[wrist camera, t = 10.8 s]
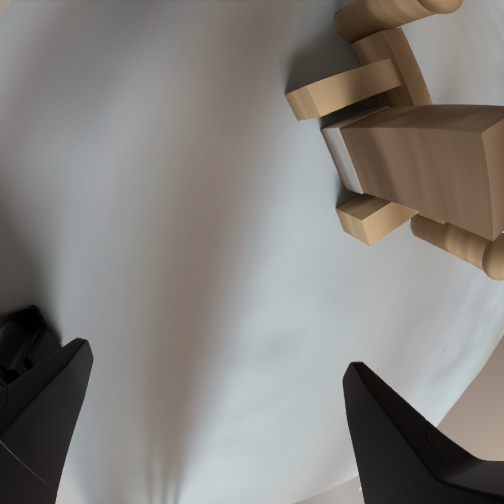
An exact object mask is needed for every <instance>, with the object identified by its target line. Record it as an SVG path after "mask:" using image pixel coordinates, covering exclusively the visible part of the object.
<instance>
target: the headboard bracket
mask: <svg viewBox="0 0 504 504" xmlns="http://www.w3.org/2000/svg"><path fill="white" fill-rule="evenodd" d="M462 1H463V0H356V1H354V2H353V3H351V4H350V5H348V6H347V7H345V8H344V9H342V10H341V11H339V12H338V13H337V14H336V15H335V18H334V22H335V26H336V28H337V30H338V31H339V33H340V34H341V35H342V36H343V37H345V38H346V39H348V40H350V41H352V42H354V43H352V44H351V46H352V48H353V50H354V52H355V54H356V56H357V58H358V60H359V62H360V64H361V67H358V68H355V69H352V70H349V71H346V72H343V73H340V74H337V75H334V76H331V77H328V78H325V79H323V80H320V81H317V82H314V83H312V84H309V85H307V86H304V87H302V88H299V89H297V90H295V91H292V92H290V93H288V94H286V95H285V96H286V98H287V100H288V102H289V104H290V106H291V108H292V110H293V112H294V114H295V116H296V118H297V120H298V121H300V120H305V119H311V118H318V117H322V116H324V115H327V114H329V113H331V112H333V111H336V110H338V109H341V108H343V107H345V106H348V105H350V104H353V103H355V102H358V101H360V100H363V99H365V98H368V97H370V96H373V95H375V98H376V100H377V103H378V105H379V107H381V106H389V107H401V106H417V105H433V104H432V101H431V98H430V95H429V92H428V90H427V87H426V84H425V81H424V79H423V76H422V74H421V71H420V69H419V66H418V64H417V62H416V59H415V57H414V55H413V52H412V50H411V48H410V46H409V44H408V41H407V39H406V37H405V35H404V33H403V31H402V29H401V28H396V27H398V26H401V25H404V24H407V23H409V22H412V21H415V20H418V19H421V18H424V17H427V16H431V15H434V14H449V13H452V12H454V11H456V10H457V9H458V8H459V7H460V6H461V4H462ZM393 28H394V29H393ZM336 211H337V214H338V216H339V219H340V221H341V224H342V227H343V229H344V231H345V232H346V233H348V234H350V235H352V236H353V237H355V238H357V239H359V240H360V241H362V242H364V243H365V244H367V245H369V246H370V245H372V244H373V243H375V242H376V241H378V240H379V239H381V238H382V237H384V236H385V235H387V234H388V233H390V232H391V231H393V230H394V229H396V228H397V227H399V226H400V225H401V224H403V223H404V222H406V221H407V220H409V219H410V218H412V220H411V229H412V232H413V234H414V235H415V236H417V237H419V238H421V239H423V240H425V241H427V242H429V243H431V244H433V245H435V246H437V247H439V248H441V249H443V250H445V251H447V252H449V253H451V254H453V255H455V256H457V257H459V258H461V259H463V260H465V261H466V262H468V263H470V264H472V265H474V266H476V267H478V268H479V269H481V270H483V271H484V272H485V273H486V274H487V275H488V276H489V277H490V278H492V279H494V280H504V233H501V234H500V235H499V236H498V237H497V238H496V239H495V240H494V241H490V240H488V239H486V238H484V237H481V236H479V235H477V234H475V233H472V232H470V231H467V230H465V229H463V228H460V227H458V226H455V225H453V224H451V223H448V222H446V221H443V220H440V219H438V218H435V217H433V216H430V215H427V214H425V213H422V212H419V211H417V210H414V209H411V208H408V207H406V206H403V205H400V204H397V203H394V202H391V201H388V200H385V199H382V198H379V197H376V196H373V195H370V194H367V193H363V194H360V195H358V196H357V197H355V198H353V199H351V200H350V201H348V202H346V203H345V204H343V205H341V206H339V207H338V208H336Z"/></svg>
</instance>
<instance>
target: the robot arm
mask: <svg viewBox="0 0 504 504" xmlns="http://www.w3.org/2000/svg"><path fill="white" fill-rule="evenodd" d="M31 310H32V311H33V312H34V313H33V312H32V311H31ZM92 364H93V354H92V351H91V348H90V345H89V342H88V340H86V339H82V338H76V339H74V340H73V341H71V342H70V343H68V344H67V345H65V346H64V347H62V348H60V347H59V345H58V343H57V342H56V340H55V339H54V337H53V335H52V333H51V332H50V330H49V328H48V327H47V325H46V323H45V321H44V319H43V318H42V316H41V314H40V312H39V310H38V309H37V307H36V306H34V305H29V306H26V307H23V308H20V309H16V310H13V311H10V312H7V313H4V314H1V315H0V504H55V502H56V497H57V491H58V487H59V483H60V479H61V475H62V471H63V467H64V463H65V459H66V456H67V452H68V448H69V445H70V442H71V438H72V435H73V432H74V428H75V425H76V422H77V419H78V416H79V413H80V410H81V407H82V404H83V401H84V397H85V393H86V389H87V385H88V381H89V376H90V372H91V368H92ZM343 390H344V398H345V407H346V416H347V422H348V426H349V431H350V435H351V439H352V444H353V448H354V453H355V458H356V462H357V467H358V472H359V476H360V482H361V487H362V492H363V497H364V502H365V504H504V461H486V460H481V459H479V458H477V457H475V456H473V455H471V454H470V453H469V452H467V451H466V450H464V449H463V448H462V447H460V446H459V445H457V444H456V443H454V442H453V441H452V440H450V439H449V438H448V437H446V436H445V435H444V434H443V433H441V432H440V431H439V430H438V429H437V428H436V427H434V426H433V425H432V424H431V423H430V422H429V421H426V419H425V418H424V417H423V416H422V415H421V414H420V413H419V412H418V411H416V410H415V409H414V408H413V407H412V406H411V405H410V404H409V403H407V402H406V401H405V400H404V399H403V398H402V397H401V396H400V395H399V394H397V393H396V392H395V391H394V390H393V389H392V388H391V387H390V386H389V385H387V384H386V383H385V382H384V381H383V380H382V379H381V378H380V377H379V376H378V375H376V374H375V373H374V372H373V371H372V370H371V369H370V368H369V367H368V366H366V365H365V364H364V363H363V362H351V363H350V364H349V366H348V368H347V370H346V372H345V374H344V377H343Z"/></svg>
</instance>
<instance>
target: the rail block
mask: <svg viewBox="0 0 504 504" xmlns="http://www.w3.org/2000/svg"><path fill="white" fill-rule="evenodd" d="M320 131H321V133H322V135H323V137H324V140H325V142H326V144H327V147H328V149H329V152H330V154H331V156H332V159H333V161H334V164H335V166H336V169H337V171H338V174H339V176H340V179H341V182H342V184H343V186H344V187H346V189H348V190H351V191H354V192H357V193H360V194H363V193H367V194H370V195H373V196H376V197H379V198H382V199H385V200H388V201H391V202H394V203H397V204H400V205H403V206H406V207H408V208H411V209H414V210H417V211H419V212H422V213H425V214H427V215H430V216H433V217H435V218H438V219H440V220H443V221H446V222H448V223H451V224H453V225H455V226H458V227H460V228H463V229H465V230H467V231H470V232H472V233H475V234H477V235H479V236H481V237H484V238H486V239H488V240H490V241H494V240H495V239H496V238H497V237H498V236H499V235H500V234H501V233H502V232H503V231H504V106H492V105H417V106H401V107H389V106H381V107H372V108H369V109H367V110H365V111H362V112H360V113H357V114H355V115H353V116H350V117H348V118H346V119H343V120H341V121H339V122H337V123H334V124H332V125H330V126H328V127H325V128H323V129H321V130H320Z"/></svg>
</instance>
